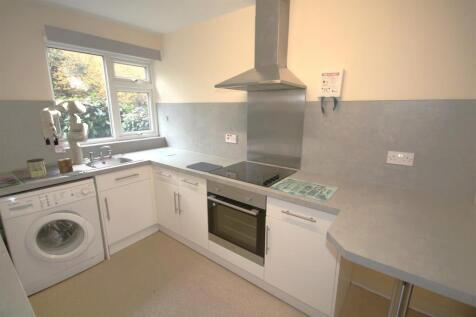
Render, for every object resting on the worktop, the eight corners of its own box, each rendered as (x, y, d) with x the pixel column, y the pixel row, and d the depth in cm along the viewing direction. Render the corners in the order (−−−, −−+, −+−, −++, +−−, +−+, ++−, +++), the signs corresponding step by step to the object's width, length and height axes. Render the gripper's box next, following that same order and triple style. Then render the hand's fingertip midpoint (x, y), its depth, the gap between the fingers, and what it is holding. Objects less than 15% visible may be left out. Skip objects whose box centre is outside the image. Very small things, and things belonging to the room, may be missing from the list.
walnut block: (69, 171, 195) (66, 158, 193) (73, 171, 194) (71, 158, 191) (59, 173, 188) (57, 160, 185) (64, 173, 186) (61, 160, 184)
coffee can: (27, 177, 178) (24, 160, 175) (43, 174, 187) (39, 158, 184) (34, 178, 174) (30, 161, 171) (49, 175, 183) (46, 159, 180)
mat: (77, 170, 196) (77, 170, 196) (89, 171, 193) (89, 171, 192) (61, 174, 183) (61, 174, 183) (74, 175, 179) (74, 175, 179)
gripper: (60, 124, 185) (64, 144, 189) (46, 124, 190) (50, 144, 193) (50, 125, 178) (55, 145, 182) (36, 125, 183) (40, 145, 186)
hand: (52, 145), depth 188 cm, fingers open, 9 cm apart
